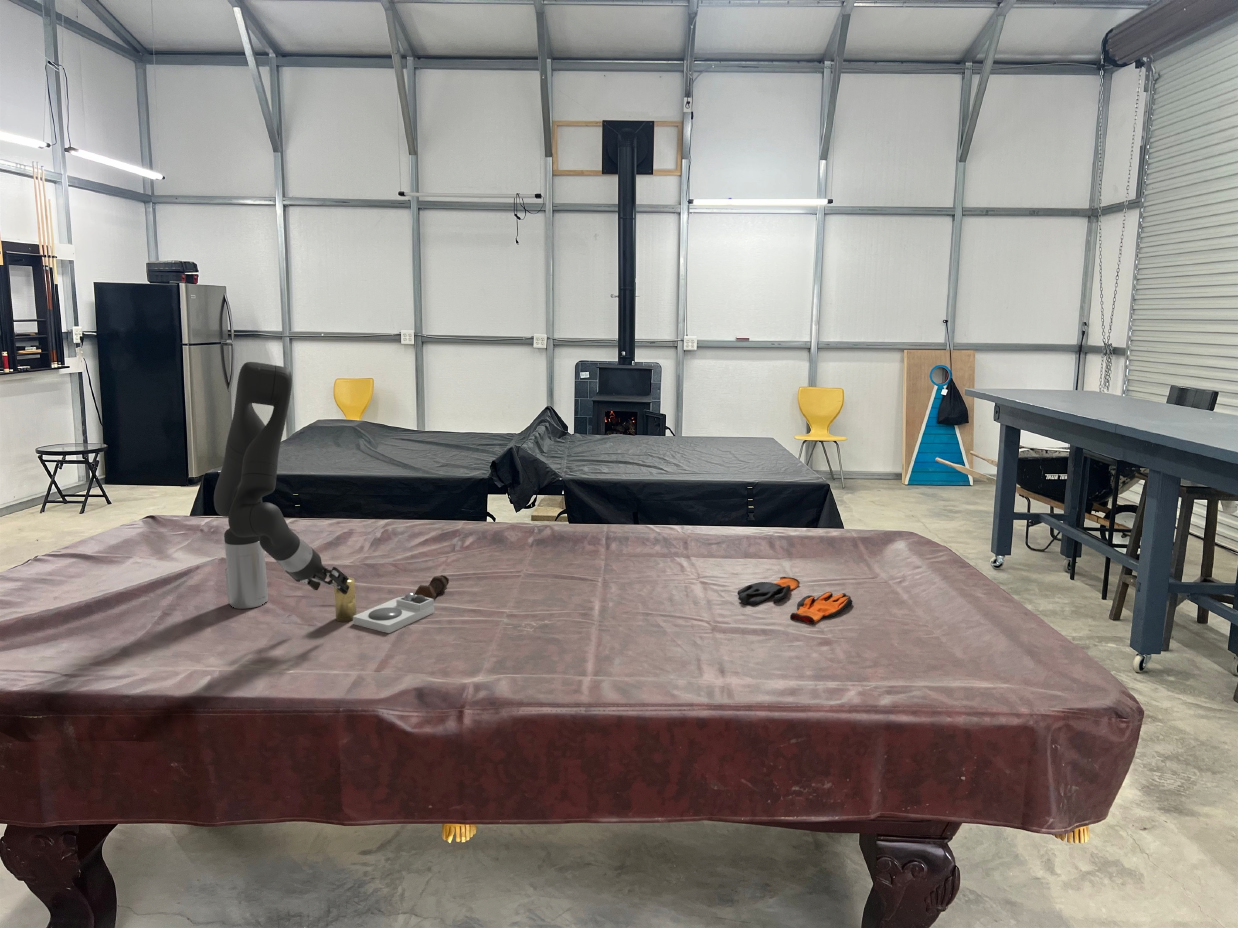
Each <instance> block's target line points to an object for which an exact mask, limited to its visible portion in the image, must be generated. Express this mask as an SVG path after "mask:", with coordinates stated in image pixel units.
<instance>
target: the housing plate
mask: <svg viewBox="0 0 1238 928" xmlns="http://www.w3.org/2000/svg"><path fill="white" fill-rule="evenodd" d="M404 596H405V595H404ZM404 596H401V597H400V596H399V597H396V598H393V599H391V600H388V601H387V602H384V603H382V604H379V605H376V606H375V607H371V608H369V609H366V610H365V611H362V612H360V613H357V615H355V616H353V620H352V624H353V625H355V626H359V627H363V628H368V629H371V630H375V631H379V632H383V633H386V634H392V633H393V632H395V631H397V630H399V629H401V628H404V627H406V626H408V625H410V624H412V623H415V622H417V621H419V620H421V619H423V618H425V617H428V616H430V615H432V614H434V613H435V605H434V604H435V603H434V601H435V600H434V601H433V599H431V598H427V597H425V598H426V601H425V602H423V603H420V604H418V603H414V602H410V601H405V600H404ZM415 596H417V595H415Z"/></svg>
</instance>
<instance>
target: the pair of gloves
mask: <svg viewBox="0 0 1238 928" xmlns="http://www.w3.org/2000/svg"><path fill="white" fill-rule="evenodd" d="M800 584H801V583H800V581H799V580H798V578H796V577H790V576H789V577H788V576H787V577H786V576H781V577H780V578H779V580H778V581H775V582H771V581H760V582H754V583H751V584H748V585H746V586H744V587H742V588H739V589H738V591H737V595H738V600H739V601H740V602H741V603H742V604H745V605H751V606H756V605H758V604H761V603H762V602H764V601H767V600H768V599H769V598H771V596H772V595H774V594H776V593H778V594H777V595H774V598H773V599H772V602H773V603H778V602H779V601H781V600H783V599H785V598H787V597H788V596H789V593H790V591H792V590H795V589H796V588H798V587H799V586H800ZM852 604H853V599H852V597H851V596H850V595H848V594H846V593H845V592H841V593H839V594H837V595H836V594H835V595H834V594H833V592H831V591H826V592H824V593H823V594H821V595H820V596H818V597H817V598H816V596H815V595H810V594H808V595H806V596H803V597H802V598H801V599H800V600H799V601H797V605H796V610H797V611H795V612H792V613H791V614H790V616H789V619H790V620H792V621H798V620H799V621H801V622H802V623H804V624H810V625H815V623H817V622H819V621H820V620H821V619H829V618H833V617H835V616H837V615H838V614H839V613H841V612H842V611H843V610H845V608H849V607H850V606H851V605H852ZM810 622H811V623H810Z"/></svg>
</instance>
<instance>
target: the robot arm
mask: <svg viewBox="0 0 1238 928" xmlns="http://www.w3.org/2000/svg"><path fill="white" fill-rule="evenodd" d="M239 370H240V371H239V372H238V377H237V378H238V379H237V383H236V390H235V391H236V392H235V400H234V401H235V402H234V410H233V415H232V419H231V422H230V428H229V431H228V435H227V440H226V445H225V449H224V450H225V452H224V457H223V463H222V467H221V470H220V473H219V474H218V475H219V476H218V478H217V481H216V484H215V489H214V492H213V493H214V494H213V506H214V509H215V511H216V513H217V514H218V515H220V517H223V518H224V517H225V518H227V519H228V520H227V521H228V526H229V528H227V529H226V530H225V531H224V533H223V539H224V549H225V560H226V568H225V570H224V573H225V582H226V583H225V584H226V593H227V603H228V602H230V603H229V605H231V606H232V608H233V607H234V609H240V610H242V609H244V610H245V609H251V608H252V609H253V608H256V607H261V606H263V605H264V604H263V603H265V602H266V601H267V600H268V601H269V595H268V594H269V593H268V581H267V580H268V579H267V568H266V555H265V554H266V553H267V554H268V555H269V556H270V557H272V558H273V560H275V562H276V563H277V564H278V565H279V566H280V567H281V568H283V570H284V571H285V573H286V574H288V575H289V576H290V577H291V578H292V579H293V580H294V581H295V582H297V583H300V582H302V583H303V584H304V585H307V586H309V587H310V588H311V589H312V590H313V591H318V590H319V589H320V586H321V584H323V585H325V586H327V587H329V586H332V587H333V588H334V587H336V588H337V589H338V590H339V591H340V592H341V593H343V594H347V593H348V590H349V588H350V587H349V586H348V585H347V582H348V579H349V578H348V577H349V576H347V575H346V574H345V573H343V572H342V571H341V570H340V569H339V568H338V567H336V566H333V567H332V568H331V569H329V568H328V567H327V566H326V565H324V564H323V562H322V557H321V556H320V554H319V553H318V552H317V551H316V550H315V549H314V548H313V547H312V546H311V545H310V544H309V543H308V542H307V541H305V539H303V538H301V537H300V536H299V535H298V534H296V533H295V531H293V530H292V529H291V528H290V527H289V524H288V523H287V521H286V519H285V517H284V515H283V513H282V511H281V509H280V507H278V506H277V505H276V504H273V503H271V502H267V501H266V502H265V501H264V502H263V497H265V496H268V495H271V494H272V493H274V491H275V489H276V484H277V475H278V462H279V454H280V450H281V449H280V448H281V443H282V438H283V435H284V432H285V431H284V429H285V426H286V422H287V421H286V420H287V416H288V412H289V411H288V410H289V407H290V402H291V395H292V394H291V393H292V386H293V375H292V372H291V370H290V368H289V367H286V366H281V365H276V364H269V363H265V362H264V363H263V362H257V361H247V362H245V363H243V365H242V366H241V367H240V369H239ZM253 404H257V405H264V406H272V407H273V408H272V412H271V415H270V418H269V419H268V421H267V423H266V424H265V423H264V421H263V420H262V419H261V418H260V416H259V414H258V413H257V412H256V410H255V408H254V406H253ZM265 552H266V553H265ZM327 577H328V580H326V579H327ZM334 582H335V583H334ZM262 604H263V605H262ZM265 604H266V603H265ZM231 606H230V607H231Z"/></svg>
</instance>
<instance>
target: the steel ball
mask: <svg viewBox="0 0 1238 928" xmlns="http://www.w3.org/2000/svg"><path fill="white" fill-rule="evenodd" d="M414 594H415V593H414V592H406V594H405V595H404V600H405V601H410V602H414V598H415V597H416V596H415V595H414Z"/></svg>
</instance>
